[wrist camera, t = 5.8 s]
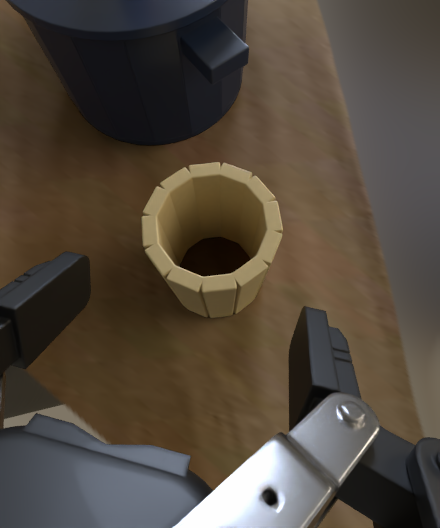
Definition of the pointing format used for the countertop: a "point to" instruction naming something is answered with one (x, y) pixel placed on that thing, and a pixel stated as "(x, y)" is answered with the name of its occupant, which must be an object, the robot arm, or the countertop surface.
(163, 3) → the pot lid
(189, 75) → the pot
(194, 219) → the pale yellow hollow cylinder
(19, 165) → the countertop surface
